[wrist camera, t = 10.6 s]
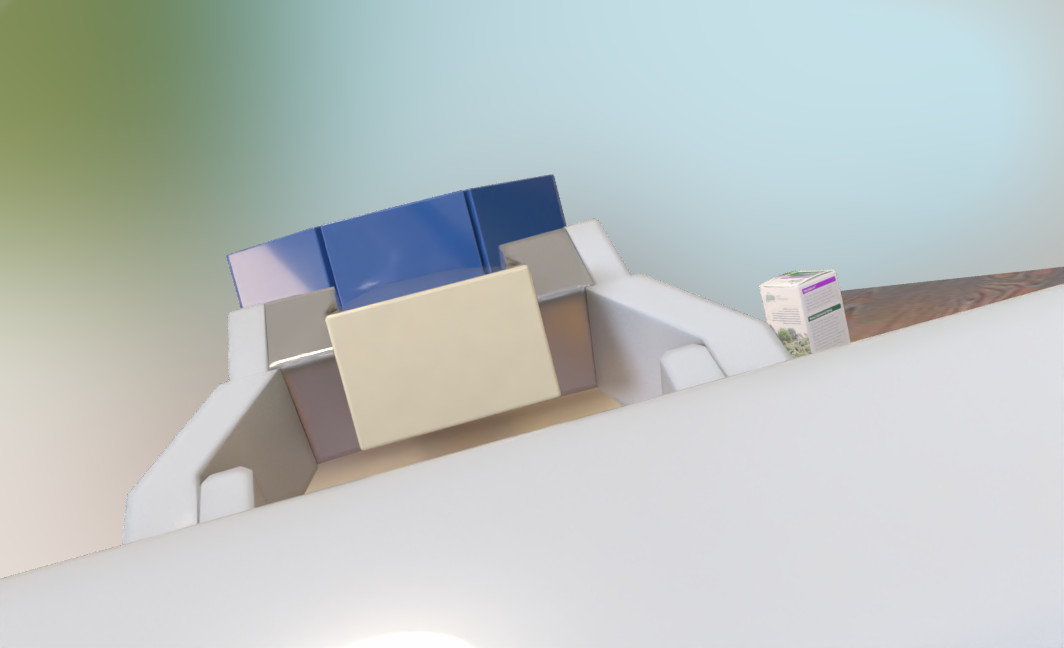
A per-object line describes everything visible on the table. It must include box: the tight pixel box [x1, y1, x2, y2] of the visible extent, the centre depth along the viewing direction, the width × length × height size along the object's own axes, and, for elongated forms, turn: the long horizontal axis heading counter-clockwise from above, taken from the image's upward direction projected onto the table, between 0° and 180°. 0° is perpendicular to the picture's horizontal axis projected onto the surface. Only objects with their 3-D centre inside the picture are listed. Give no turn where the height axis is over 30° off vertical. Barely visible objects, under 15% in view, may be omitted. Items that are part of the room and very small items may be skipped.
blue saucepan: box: [227, 175, 566, 451], centre depth 26 cm, size 30×11×5 cm, turn 9°
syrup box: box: [759, 270, 851, 358], centre depth 102 cm, size 6×6×14 cm
